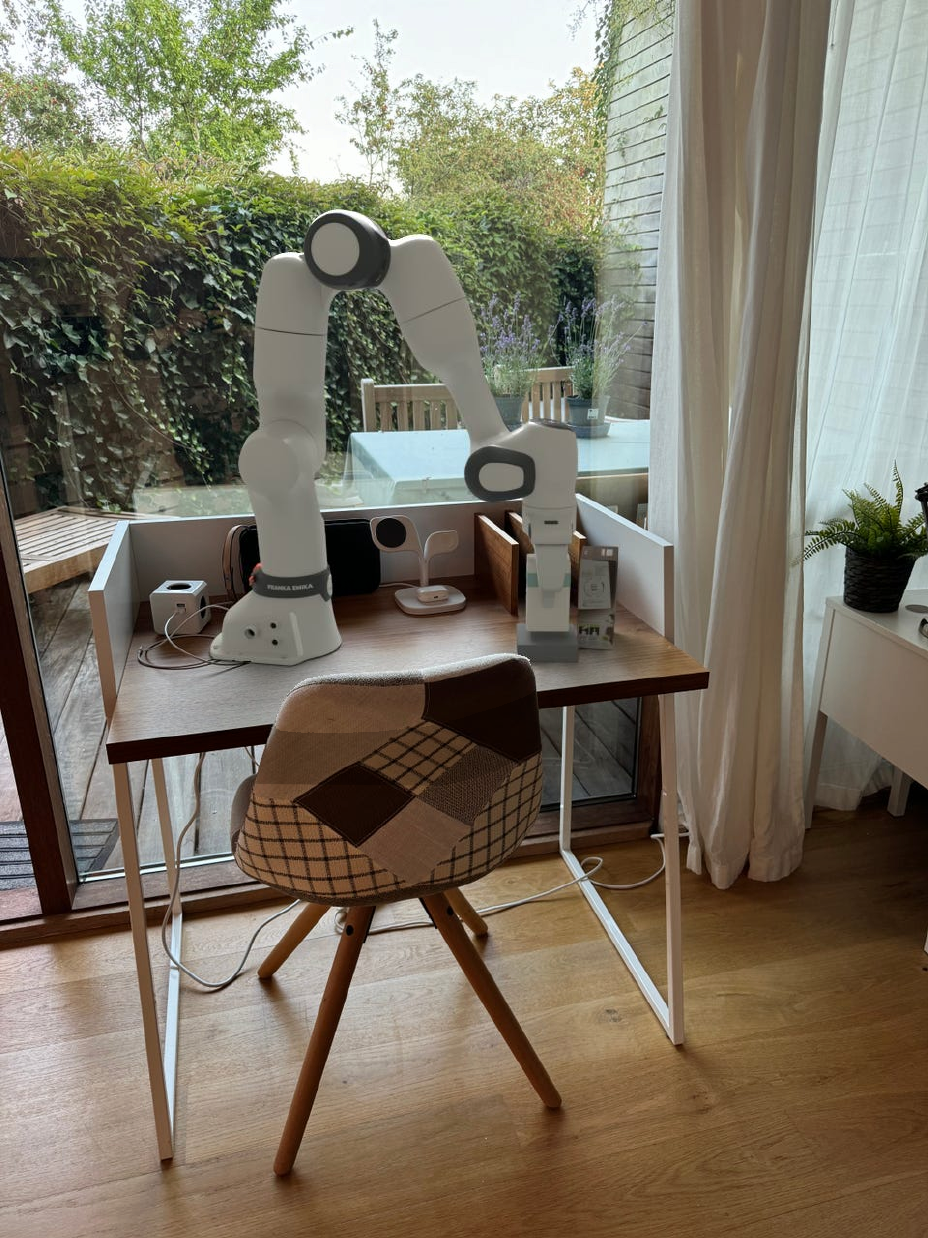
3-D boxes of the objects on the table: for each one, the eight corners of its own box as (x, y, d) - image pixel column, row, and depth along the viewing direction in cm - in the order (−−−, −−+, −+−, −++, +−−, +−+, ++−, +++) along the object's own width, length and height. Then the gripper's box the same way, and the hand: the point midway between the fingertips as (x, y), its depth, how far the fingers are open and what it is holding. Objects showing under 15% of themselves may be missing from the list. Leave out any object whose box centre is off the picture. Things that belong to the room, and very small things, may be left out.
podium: (517, 661, 147) (517, 645, 146) (516, 639, 156) (516, 623, 155) (577, 661, 146) (578, 645, 145) (572, 639, 156) (573, 623, 155)
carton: (526, 631, 147) (527, 562, 143) (525, 620, 152) (526, 553, 148) (568, 631, 147) (571, 562, 143) (566, 620, 152) (568, 553, 148)
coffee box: (612, 650, 151) (617, 560, 145) (575, 648, 152) (578, 558, 146) (615, 631, 159) (619, 545, 153) (579, 629, 160) (582, 544, 155)
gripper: (527, 505, 153) (526, 581, 158) (531, 536, 134) (530, 621, 139) (564, 505, 153) (561, 581, 158) (573, 536, 134) (570, 621, 138)
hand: (547, 600), depth 148 cm, fingers closed on carton, 5 cm apart
